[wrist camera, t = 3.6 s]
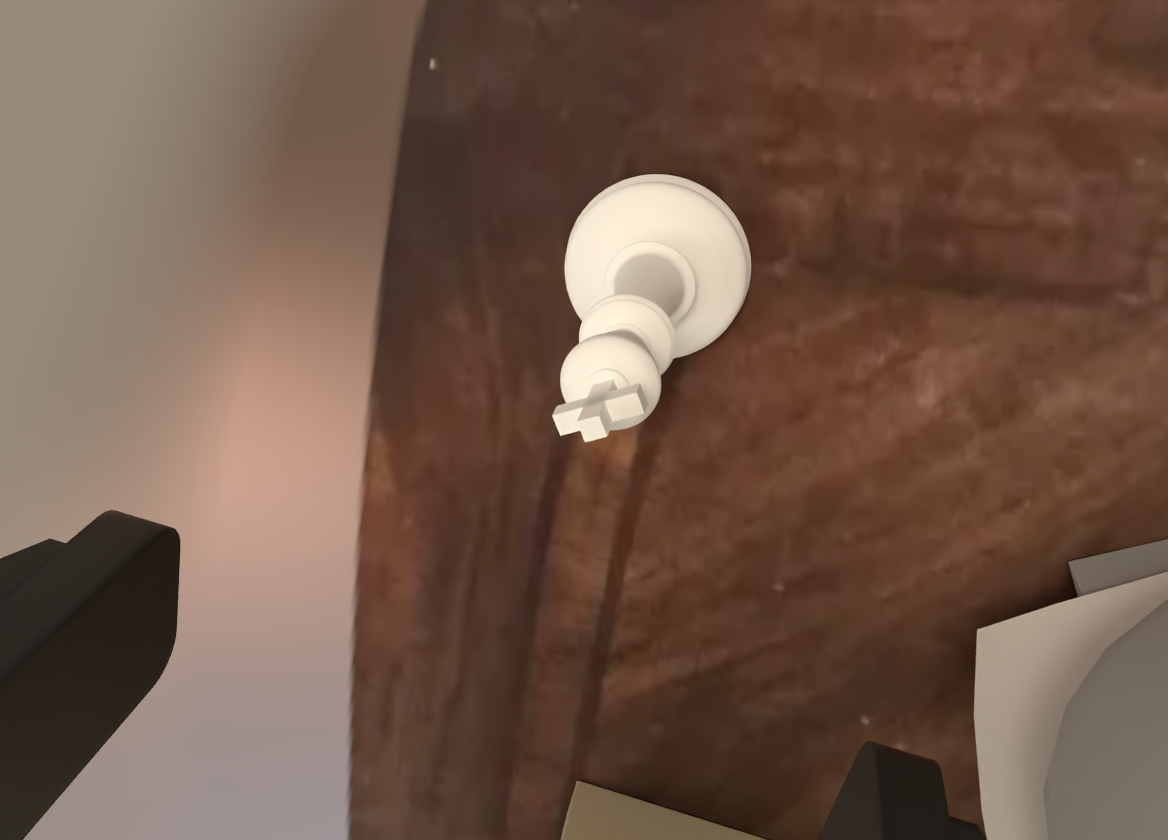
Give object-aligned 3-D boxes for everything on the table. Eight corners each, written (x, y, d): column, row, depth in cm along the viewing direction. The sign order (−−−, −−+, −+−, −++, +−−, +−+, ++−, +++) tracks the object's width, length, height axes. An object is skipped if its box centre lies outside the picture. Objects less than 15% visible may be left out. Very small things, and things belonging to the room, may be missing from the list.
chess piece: (539, 208, 27) (417, 342, 18) (718, 147, 26) (678, 261, 17) (603, 373, 29) (518, 570, 20) (774, 325, 27) (765, 514, 19)
